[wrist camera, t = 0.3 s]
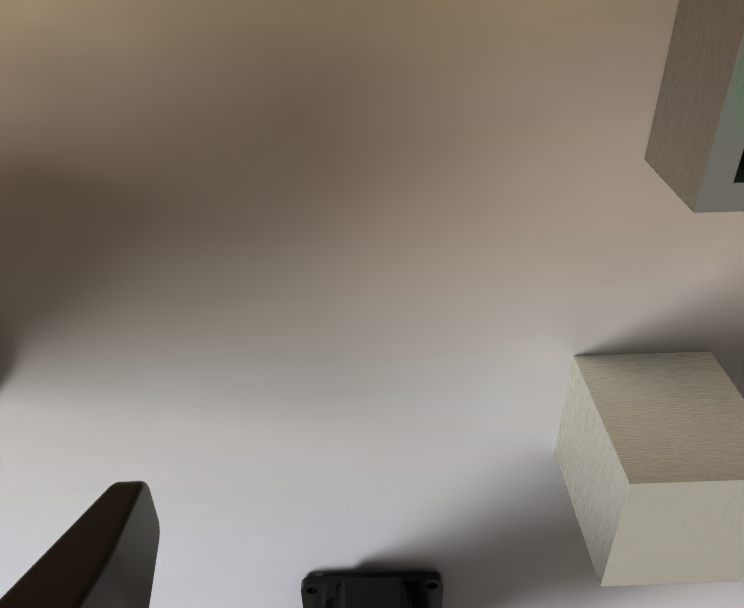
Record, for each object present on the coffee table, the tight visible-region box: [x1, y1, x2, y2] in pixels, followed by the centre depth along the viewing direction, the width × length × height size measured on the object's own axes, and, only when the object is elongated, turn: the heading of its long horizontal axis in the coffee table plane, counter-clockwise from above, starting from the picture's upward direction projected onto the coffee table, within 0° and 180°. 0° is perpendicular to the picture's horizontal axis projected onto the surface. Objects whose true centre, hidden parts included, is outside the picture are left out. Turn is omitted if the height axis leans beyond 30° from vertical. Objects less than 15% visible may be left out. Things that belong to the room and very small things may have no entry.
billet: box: [555, 352, 744, 587], centre depth 24 cm, size 5×5×6 cm
